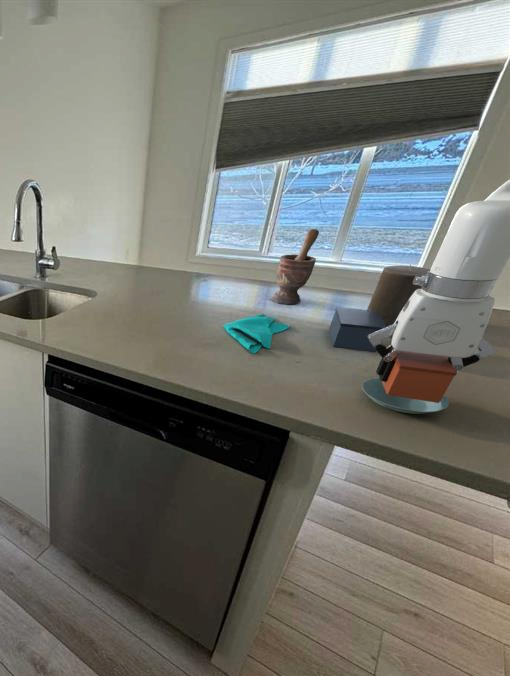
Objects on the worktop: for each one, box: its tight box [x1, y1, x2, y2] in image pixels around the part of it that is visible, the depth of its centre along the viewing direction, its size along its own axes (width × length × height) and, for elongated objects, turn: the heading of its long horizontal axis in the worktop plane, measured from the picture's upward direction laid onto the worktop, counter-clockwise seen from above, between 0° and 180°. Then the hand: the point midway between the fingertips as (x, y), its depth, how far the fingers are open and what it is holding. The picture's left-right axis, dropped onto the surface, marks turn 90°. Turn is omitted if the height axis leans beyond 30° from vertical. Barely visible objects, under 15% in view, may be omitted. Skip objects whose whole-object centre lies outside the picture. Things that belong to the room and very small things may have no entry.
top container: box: [382, 352, 458, 403], centre depth 72 cm, size 7×9×6 cm
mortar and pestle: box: [271, 228, 320, 305], centre depth 120 cm, size 12×9×20 cm
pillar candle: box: [366, 264, 431, 327], centre depth 101 cm, size 10×10×15 cm
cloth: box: [223, 313, 291, 355], centre depth 106 cm, size 26×14×2 cm, turn 132°
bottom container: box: [328, 307, 386, 353], centre depth 97 cm, size 8×11×6 cm
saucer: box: [361, 377, 450, 415], centre depth 75 cm, size 12×12×2 cm
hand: (409, 381), depth 73 cm, fingers closed on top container, 6 cm apart
